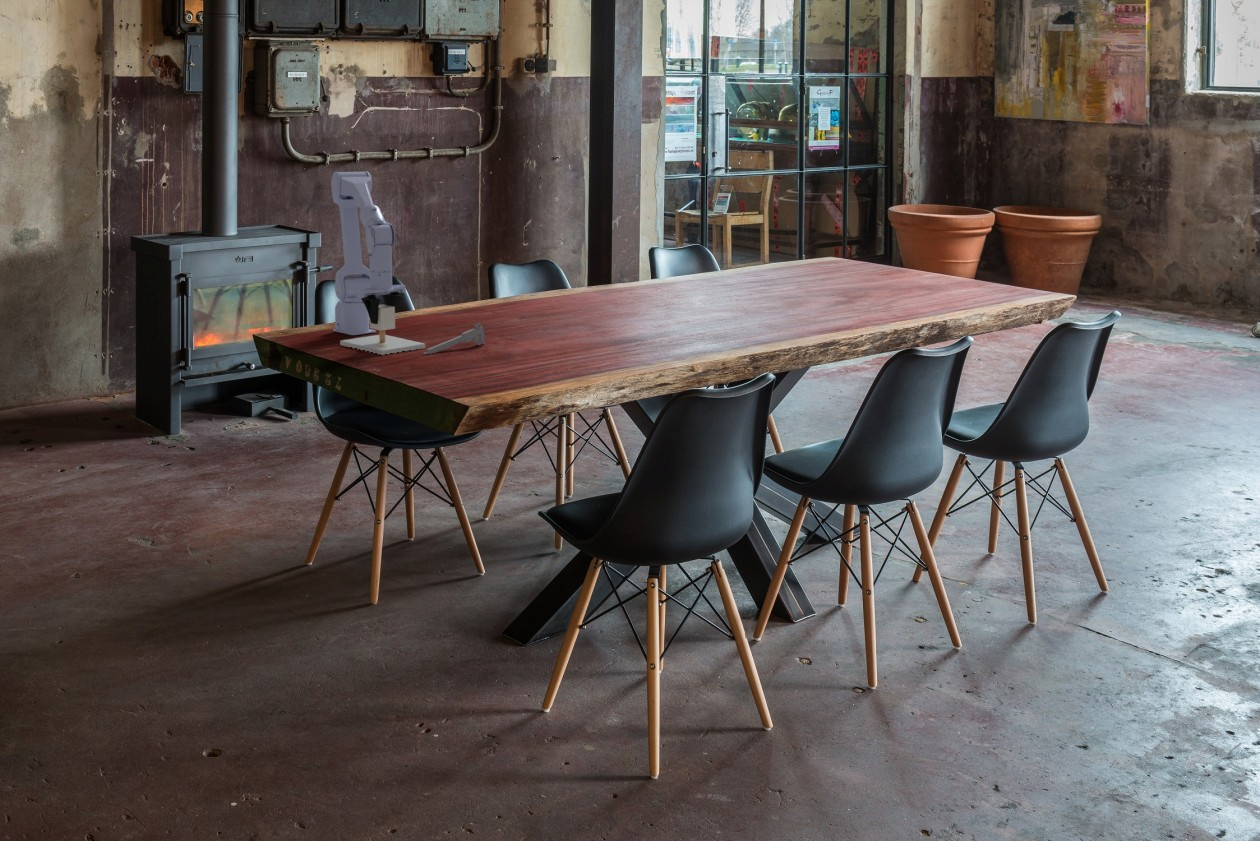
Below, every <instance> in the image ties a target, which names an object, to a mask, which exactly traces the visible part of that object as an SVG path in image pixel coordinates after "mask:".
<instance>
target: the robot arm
mask: <svg viewBox="0 0 1260 841" xmlns="http://www.w3.org/2000/svg"><path fill="white" fill-rule="evenodd" d="M372 179H373V178H372V175H371V174H370V173H369V171H368V170H364V171H334V172H333V174H332V176H331V179H330V180H331V181H330V185H331V186H330V187H331V188H330V189H331V198H332V201H333V203H334V204H337V205H338V208H339V209H338V210H339V215H340V226H341V237H342V248H343V249H342V250H343V251H342V252H343V260H344V262H343V263H344V264H343V266H342V267H341V268H339V270H337V271H336V273H335V283H334V290H335V291H334V292H335V296H336V297H337V299H338V301H337V303H336V305H335V307H334V314H335V315H334V316H335V317H334V319H335V320H334V324H335V328H333V329H332V331H333V332H336V333H341V334H345V335H348V336H358V335H365V334H366V335H367V334H373V333H376V332H377V330H376V329H372V328H370V321H371V323H373V324H378V308H379V305H380V303H381V299H380V298H377V297H379V296H382V297H383V302H384V305H389V306H394V307H395V313H396V311H397V310H398V309H397V308H398V306H399V303H400V302H401V300H402V294H404V293H406V289H407V288H406V284H393V261H392V259H393V258H392V257H393V255H392V254H393V253H392V250H393V249H392V248H393V246H394V245H395V242H396V235H395V234H396V233H395V229H394V226H393V224H392V223H389V222H388V221H386V219H385V218H384V215H383V213H382V211H381V209H380V207H379V206H377V205H375V204H374V202H373V198H372V195H371V193H372V189H373V180H372ZM358 208H359V210H360V211H359V210H358ZM359 219H360V220H359ZM360 222H361V224H362V225H363V228H364V230H365V234H364V235H365V242H366V246H367V253H368V254H369V259H368V260H369V268H368V267H366V266H365V265H364V264H363V256H362V246H361V243H362V242H361V234H360V233H361V231H360ZM401 293H402V294H401Z"/></svg>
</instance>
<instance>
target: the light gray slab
mask: <svg viewBox="0 0 1260 841" xmlns="http://www.w3.org/2000/svg"><path fill="white" fill-rule="evenodd" d="M378 331H379V332H378V333H379V334H376V335H369V336H362V337H355V338H350V339H343V340H339V341H340V342H339V343H340V346H342V347H346V348H347V347H348V348H350V347H352V348H351V349H355V348H357V349H356V350H359V349H360V351H363V350H365V351H364V352H367V351H369V352H368V353H371V352H373V353H372V354H375V353H377V355H380V354H381V355H380V356H386V355H385V354H387V355H391V354H390V353H393V354H397V352H399V353H403V352H402V351H405V352H410V351H409V350H411V351H417V350H422V349H425V348H426V343H424V342H420V341H415V340H410V339H405V338H403V337H397V336H392V335H387V334H386V330H382V331H381V330H378ZM416 349H417V350H416Z"/></svg>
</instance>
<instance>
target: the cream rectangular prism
mask: <svg viewBox="0 0 1260 841" xmlns="http://www.w3.org/2000/svg"><path fill="white" fill-rule="evenodd" d="M369 329H372V330H376V331H379V330H381V331H382V330H385V331H387V330H393V329H394V330H395V329H396V312H395V307H394V306H389V305H385V304H379V308H378V324H373V323H371V321H370V320H369Z"/></svg>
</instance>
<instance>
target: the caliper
mask: <svg viewBox="0 0 1260 841" xmlns="http://www.w3.org/2000/svg"><path fill="white" fill-rule="evenodd" d="M474 327H475V328H472V329H469V330H467V331H464V332H461V334H460V335H458V336H456V337H453V338H452V339H449V340H446V341H444V342H441V343H439V344H436V345H434V346H431V347H429V348H427V349H426V351H424V352H423V355H425V356H427V355H431V354H432V353H433V354H436V353H439V352H440V351H441V352H442V351H443V350H445V349H448V348H450V347H452V346H456V345H458V344H459V343H464V344H468V342H471V341H473V343H474V345H475V346H477V345H479V346H480V345H482V344H484V345H485V344H486V343H485V337H486V336H485V330H484V326H482V324H481V323H480V322H477V324H476V323H474ZM426 354H427V355H426Z"/></svg>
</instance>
